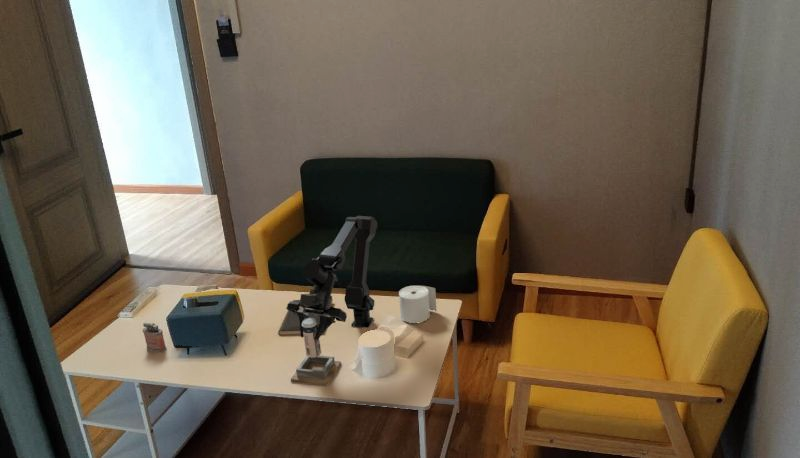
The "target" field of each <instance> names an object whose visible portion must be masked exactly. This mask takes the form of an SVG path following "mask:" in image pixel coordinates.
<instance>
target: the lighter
mask: <svg viewBox="0 0 800 458" xmlns="http://www.w3.org/2000/svg"><path fill="white" fill-rule="evenodd" d="M142 324H143V328H142V333H143V336H144V340H145V343H146V344H145V345H146V350H148V351H150V352H154V353H164V352H166V351H167V346H166V343H165V339H164V338H165V337H164V335H163V334H164V333H163V330H162V329H161V328H159V325H158V324H156V323H154V322H152V323H150V322H143V323H142Z"/></svg>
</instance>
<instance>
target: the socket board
mask: <svg viewBox="0 0 800 458" xmlns="http://www.w3.org/2000/svg"><path fill="white" fill-rule="evenodd" d="M341 365H342V361H337V360H335V357H334V356H329V355H321V354H320V355H319V356H317V357H315V358H311V357H308V356H307V355H305V357H304V359H303V360H302V361H301V363H300V364H299V365H298V367H297V368H296V370H295V372H294V374H293V375H292V376H291V378H290V383H297V384H306V385H315V386H321V387H322V386H325V387H328V385H329V383H330V382H331V381H332V379H333V377H334V376H335V374H336V373H337V371H338V370H339V368H340V366H341Z"/></svg>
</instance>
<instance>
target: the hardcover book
mask: <svg viewBox="0 0 800 458" xmlns="http://www.w3.org/2000/svg"><path fill="white" fill-rule="evenodd" d="M292 301H293V302H300V299H293V300H292ZM303 305H304V304H303ZM332 305H333V298H332V300H329V303H328V307H327V308H328V309H329V308H330V307H332ZM304 306H306V307H308V306H307V305H304ZM319 312H320V311H319ZM308 316H309V317H310V318H314V319H315V320H316V321H317V326H319V323H320V315H318V314H312V313H308ZM322 316H323V315H322ZM277 333H278V336H280V335H301V334H300V321H299V317H298V315H297V314H294V313H292V312H291V311H289V310H287V311H286V313H285V316H284V319H282V323H281V325H280V327H279V329H278V332H277Z"/></svg>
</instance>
